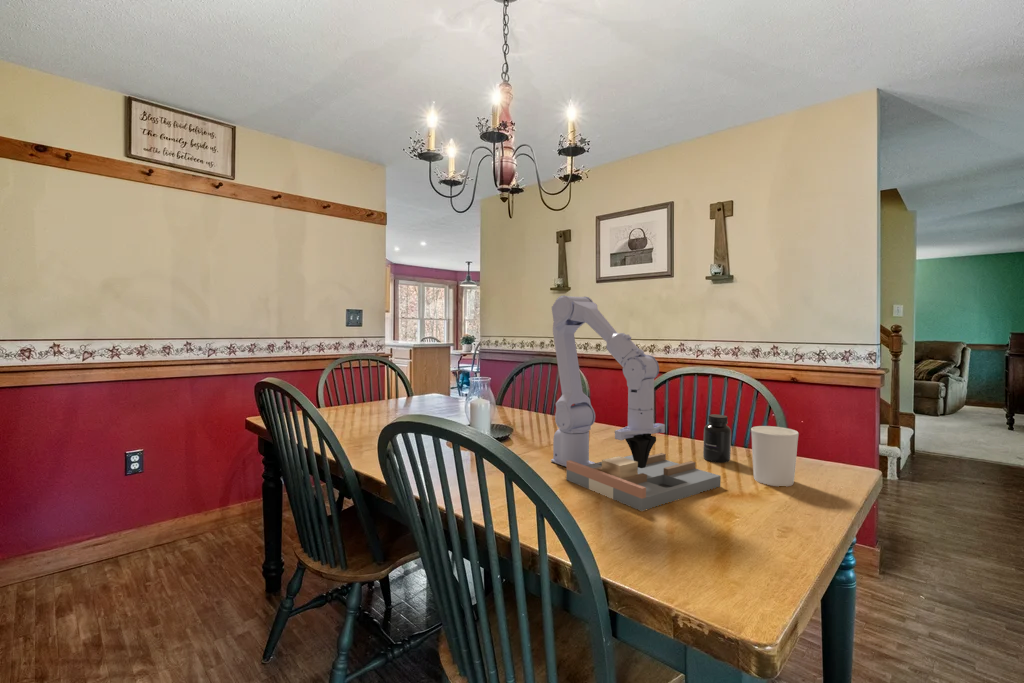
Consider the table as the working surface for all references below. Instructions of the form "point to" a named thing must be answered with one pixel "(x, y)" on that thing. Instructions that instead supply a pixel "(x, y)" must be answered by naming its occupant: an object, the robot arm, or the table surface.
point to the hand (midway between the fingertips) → (640, 466)
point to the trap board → (645, 481)
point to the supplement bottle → (717, 439)
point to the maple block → (620, 467)
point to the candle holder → (774, 455)
